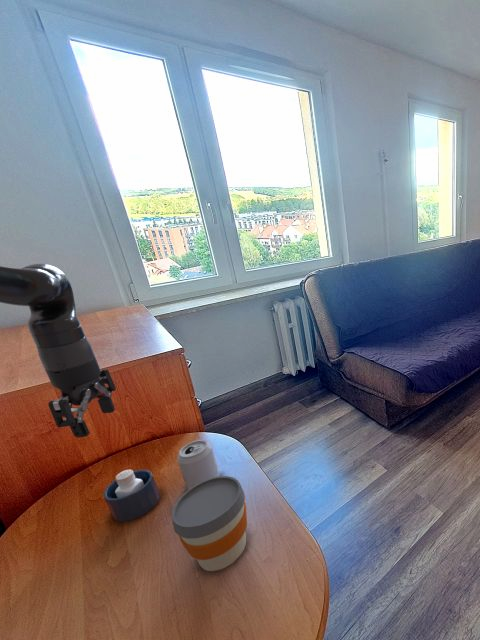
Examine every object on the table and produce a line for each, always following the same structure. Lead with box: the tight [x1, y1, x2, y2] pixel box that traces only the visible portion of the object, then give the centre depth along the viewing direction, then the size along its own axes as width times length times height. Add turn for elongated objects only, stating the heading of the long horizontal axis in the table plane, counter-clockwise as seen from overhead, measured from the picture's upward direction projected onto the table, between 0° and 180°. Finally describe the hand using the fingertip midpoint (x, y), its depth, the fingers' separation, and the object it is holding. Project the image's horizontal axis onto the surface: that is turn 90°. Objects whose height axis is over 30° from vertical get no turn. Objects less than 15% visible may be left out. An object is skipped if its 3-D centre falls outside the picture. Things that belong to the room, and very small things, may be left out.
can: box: [176, 439, 220, 491], centre depth 87 cm, size 8×8×12 cm
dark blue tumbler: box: [103, 469, 161, 523], centre depth 82 cm, size 9×9×7 cm
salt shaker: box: [115, 469, 144, 498], centre depth 81 cm, size 4×4×10 cm
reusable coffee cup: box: [171, 475, 248, 572], centre depth 70 cm, size 13×12×15 cm
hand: (96, 423), depth 76 cm, fingers open, 8 cm apart
